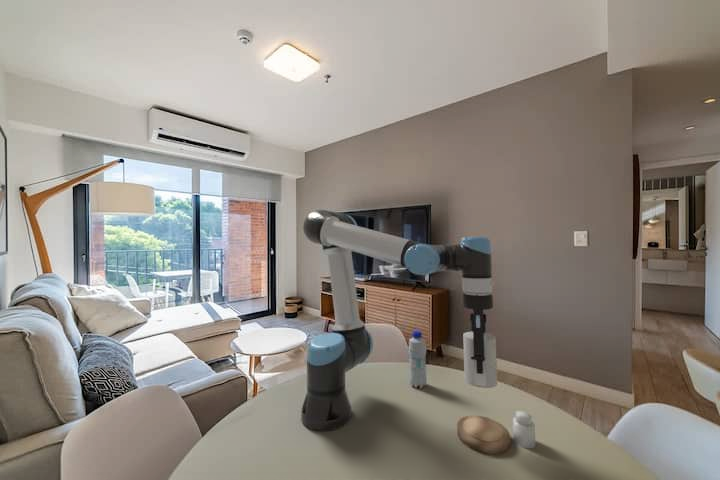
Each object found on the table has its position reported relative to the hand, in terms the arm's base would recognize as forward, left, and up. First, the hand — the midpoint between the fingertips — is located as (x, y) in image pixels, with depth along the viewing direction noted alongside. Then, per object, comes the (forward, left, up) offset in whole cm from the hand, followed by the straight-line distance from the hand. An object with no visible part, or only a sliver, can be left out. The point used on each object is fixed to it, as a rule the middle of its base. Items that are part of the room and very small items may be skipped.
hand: (480, 377), depth 77 cm
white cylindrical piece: (0, 0, -1) cm, 1 cm away
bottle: (-22, +23, -16) cm, 36 cm away
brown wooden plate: (0, 0, -16) cm, 16 cm away
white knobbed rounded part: (+10, +2, -16) cm, 19 cm away
